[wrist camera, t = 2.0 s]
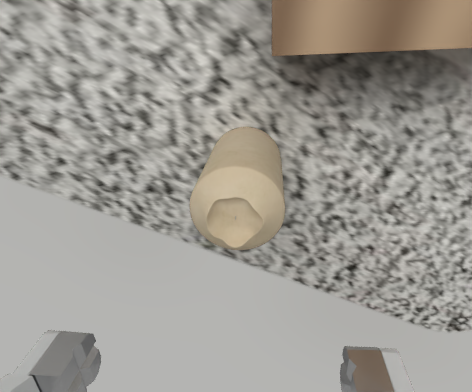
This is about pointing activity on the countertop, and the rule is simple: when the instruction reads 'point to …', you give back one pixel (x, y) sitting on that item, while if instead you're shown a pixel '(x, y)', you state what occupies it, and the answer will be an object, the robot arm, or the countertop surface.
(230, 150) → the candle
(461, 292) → the countertop surface
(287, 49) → the walnut stand
